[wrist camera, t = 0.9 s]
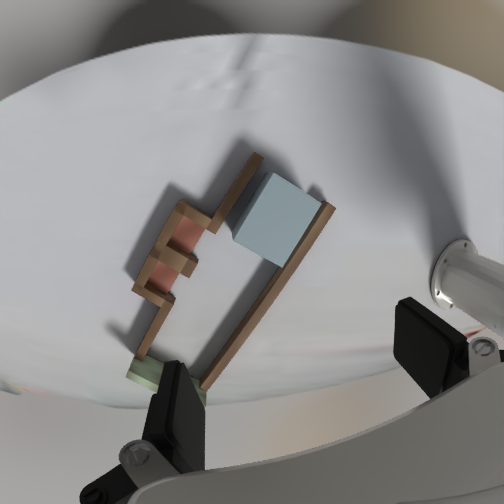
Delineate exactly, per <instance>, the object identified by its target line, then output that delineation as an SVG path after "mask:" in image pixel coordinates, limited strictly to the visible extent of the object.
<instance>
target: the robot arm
mask: <svg viewBox="0 0 504 504" xmlns="http://www.w3.org/2000/svg"><path fill="white" fill-rule="evenodd" d="M431 292H432V297H433V300H434V302H435V303H436V304H437V305H438V306H439V307H440V308H442V309H444V310H451V309H454V308H456V307H457V308H459V309H460V310H462V311H463V312H465V313H466V314H468V315H469V316H471V317H472V318H474V319H475V320H477V321H478V322H480V323H481V324H483V325H484V326H486V327H487V328H489V329H490V330H492V331H493V332H494V333H496V334H497V335H499V336H500V337H502V338H503V339H504V265H503V264H500V263H498V262H496V261H493V260H491V259H488V258H486V257H483V256H481V255H479V254H478V251H477V249H476V247H475V245H474V244H473V243H472V242H470V241H468V240H464V239H459V240H456V241H454V242H452V243H451V244H450V245H449V246H448V247H447V248H446V249H445V250H444V251H443V253H442V254H441V256H440V257H439V259H438V261H437V264H436V266H435V269H434V272H433V277H432V284H431ZM393 354H394V357H395V359H396V360H397V361H398V362H399V364H400V365H401V366H402V367H403V368H404V369H405V370H406V371H407V373H408V374H409V375H410V376H411V377H412V378H413V379H414V381H415V382H416V383H417V384H418V385H419V386H420V387H421V389H422V390H423V391H424V392H425V393H426V394H427V396H428V397H429V398H430V400H428V401H426V402H424V403H423V404H421V405H419V406H417V407H415V408H413V409H411V410H409V411H407V412H405V413H403V414H401V415H399V416H396V417H394V418H392V419H390V420H388V421H385V422H383V423H381V424H379V425H376V426H374V427H371V428H369V429H366V430H364V431H361V432H359V433H356V434H354V435H351V436H348V437H346V438H343V439H340V440H337V441H334V442H331V443H328V444H325V445H322V446H318V447H315V448H312V449H308V450H305V451H301V452H297V453H294V454H290V455H286V456H282V457H278V458H273V459H269V460H263V461H258V462H253V463H248V464H243V465H237V466H230V467H224V468H217V469H210V470H205V409H204V405H203V403H202V401H201V399H200V397H199V395H198V393H197V391H196V389H195V386H194V384H193V382H192V380H191V378H190V375H189V373H188V371H187V369H186V366H185V364H184V363H180V362H179V361H178V360H176V361H169V362H165V363H164V366H163V370H162V374H161V378H160V382H159V386H158V391H157V394H153V395H152V397H151V401H150V405H149V409H148V413H147V418H146V422H145V427H144V431H143V435H142V439H141V440H134V441H131V442H129V443H127V444H126V445H125V446H123V448H122V449H121V450H120V453H119V461H120V463H121V464H119V465H118V466H116V467H115V468H113V469H112V470H110V471H109V472H107V473H106V474H104V475H103V476H101V477H100V478H98V479H96V480H95V481H93V482H92V483H90V484H88V485H87V486H86V487H84V488H83V490H82V491H81V493H80V503H81V504H504V350H499V348H498V345H497V343H496V342H495V341H494V340H492V339H491V338H488V337H478V338H475V339H473V340H472V341H471V342H470V343H468V342H467V337H465V336H464V335H463V334H461V333H460V332H459V331H457V330H456V329H455V328H453V327H452V326H451V325H449V324H448V323H447V322H445V321H444V320H443V319H441V318H440V317H438V316H437V315H436V314H434V313H433V312H432V311H430V310H429V309H427V308H426V307H425V306H423V305H422V304H420V303H419V302H418V301H416V300H415V299H413V298H412V297H407V298H405V299H402V300H400V301H399V302H398V305H396V307H395V332H394V349H393Z"/></svg>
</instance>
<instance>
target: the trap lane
mask: <svg viewBox="0 0 504 504" xmlns="http://www.w3.org/2000/svg"><path fill="white" fill-rule="evenodd" d="M263 159H264V157H262V156H260V155H259V154H257V153H256V152H254V153H253V154H252V156H251V157H250V159H249V160H248V162H247V163H246V165H245V166H244V168H243V170H242V171H241V173H240V174H239V176H238V177H237V179H236V180H235V182H234V183H233V185H232V187H231V188H230V190H229V191H228V193H227V194H226V196H225V198H224V199H223V201H222V202H221V204H220V206H219V207H218V209H217V210H216V212H215V214H214V215H213V217H211V216H209V215H208V214H206V213H204V212H203V211H201V210H199V209H198V208H196V207H194V206H193V205H191V204H189V203H188V202H186V201H184V200H183V199H181V200H179V201H178V203H177V205H176V207H175V208H174V210H173V212H172V214H171V215H170V217H169V219H168V221H167V222H166V224H165V226H164V228H163V230H162V231H161V233H160V235H159V237H158V239H157V241H156V242H155V244H154V246H153V248H152V250H151V252H150V254H149V256H148V258H147V260H146V261H145V263H144V265H143V267H142V269H141V271H140V273H139V275H138V277H137V279H136V281H135V283H134V285H133V288H132V291H133V292H135V293H137V294H138V295H140V296H142V297H143V298H145V299H147V300H149V301H150V302H152V303H154V304H156V305H157V306H159V307H160V308H159V310H158V312H157V314H156V316H155V317H154V319H153V321H152V323H151V325H150V327H149V329H148V330H147V332H146V334H145V336H144V338H143V340H142V342H141V344H140V346H139V348H138V350H137V352H136V354H135V355H134V358H133V360H132V362H131V365H130V367H129V370H128V372H127V375H126V378H128V379H130V380H132V381H134V382H136V383H138V384H140V385H142V386H144V387H146V388H148V389H150V390H152V391H154V392H157V391H158V386H159V382H160V378H161V374H162V370H163V366H164V363H162V362H160V361H158V360H156V359H154V358H152V357H150V356H148V355H146V353H147V351H148V349H149V348H150V346H151V344H152V342H153V340H154V338H155V337H156V335H157V333H158V331H159V329H160V328H161V326H162V324H163V322H164V321H165V319H166V317H167V315H168V314H169V312H170V310H171V308H172V307H173V305H174V302H175V299H176V298H175V297H173V296H171V295H170V294H168V292H169V290H170V288H171V287H172V285H173V283H174V281H175V280H176V278H177V276H178V274H179V273H181V274H183V275H184V276H186V277H188V278H189V277H190V276H191V274H192V272H193V271H194V269H195V267H196V266H197V264H198V260H199V259H197V258H196V257H194V256H192V255H191V252H192V250H193V249H194V247H195V245H196V243H197V242H198V240H199V238H200V237H201V235H202V233H203V232H204V230H205V229H207V230H209V231H210V232H212V233H214V234H216V233H217V231H218V229H219V228H220V226H221V225H222V223H223V221H224V220H225V218H226V216H227V215H228V213H229V212H230V210H231V209H232V207H233V205H234V204H235V202H236V201H237V199H238V198H239V196H240V194H241V193H242V191H243V190H244V188H245V187H246V185H247V184H248V182H249V180H250V179H251V177H252V176H253V174H254V173H255V171H256V170H257V168H258V167H259V165H260V164H261V162H262V161H263ZM335 210H336V208H335V207H334V206H332V205H331V204H330V203H328V202H324V201H322V204H321V206H320V207H319V209H318V211H317V212H316V214H315V216H314V217H313V219H312V221H311V222H310V224H309V225H308V227H307V229H306V230H305V232H304V234H303V235H302V237H301V238H300V240H299V242H298V243H297V245H296V247H295V248H294V250H293V251H292V253H291V255H290V256H289V258H288V259H287V261H286V262H285V264H284V266H283V267H279V268H278V270H277V271H276V273H275V274H274V276H273V277H272V279H271V280H270V282H269V283H268V284H267V286H266V287H265V289H264V290H263V292H262V293H261V295H260V296H259V298H258V299H257V300H256V302H255V303H254V305H253V306H252V308H251V309H250V311H249V312H248V313H247V315H246V316H245V318H244V319H243V321H242V322H241V323H240V325H239V326H238V328H237V329H236V330H235V332H234V333H233V335H232V336H231V338H230V339H229V340H228V342H227V343H226V345H225V346H224V347H223V349H222V350H221V352H220V353H219V354H218V356H217V357H216V358H215V360H214V361H213V363H212V364H211V365H210V367H209V368H208V369H207V371H206V372H205V374H204V375H203V376H202V378H201V379H200V380H198V379H196V378H193V377H191V376H190V378H191V380H192V382H193V384H194V386H195V389H196V391H197V393H198V395H199V397H200V399H201V401H202V403H203V405H204V408H205V407H206V392H207V391H208V389H209V388H210V387H211V385H212V384H213V383H214V382H215V380H216V379H217V378H218V376H219V375H220V374H221V372H222V371H223V370H224V369H225V367H226V366H227V365H228V363H229V362H230V361H231V359H232V358H233V357H234V355H235V354H236V353H237V351H238V350H239V349H240V347H241V346H242V345H243V343H244V342H245V341H246V339H247V338H248V336H249V335H250V334H251V332H252V331H253V330H254V328H255V327H256V326H257V324H258V323H259V321H260V320H261V319H262V317H263V316H264V314H265V313H266V312H267V310H268V309H269V307H270V306H271V305H272V303H273V302H274V300H275V299H276V298H277V296H278V295H279V293H280V292H281V290H282V289H283V288H284V286H285V285H286V283H287V282H288V280H289V279H290V277H291V276H292V274H293V273H294V272H295V270H296V269H297V267H298V266H299V264H300V263H301V261H302V260H303V258H304V257H305V255H306V254H307V252H308V251H309V249H310V248H311V246H312V245H313V243H314V242H315V240H316V239H317V237H318V236H319V234H320V233H321V231H322V230H323V228H324V227H325V225H326V224H327V222H328V220H329V219H330V217H331V216H332V214H333V213H334V211H335Z"/></svg>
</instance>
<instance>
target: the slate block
mask: <svg viewBox="0 0 504 504" xmlns="http://www.w3.org/2000/svg"><path fill="white" fill-rule="evenodd" d="M321 204H322V203H320V202H319V201H317V200H316V199H314V198H313V197H311V196H310V195H308V194H307V193H305V192H304V191H302V190H301V189H299V188H298V187H296V186H294V185H293V184H291V183H290V182H288V181H287V180H285V179H283V178H282V177H280V176H279V175H277V174H275V173H266V174H265V176H264V178H263V179H262V181H261V183H260V184H259V186H258V188H257V189H256V191H255V193H254V194H253V196H252V198H251V199H250V201H249V203H248V204H247V206H246V208H245V209H244V211H243V213H242V214H241V216H240V218H239V219H238V221H237V223H236V225H235V226H234V228H233V230H232V231H231V232H232V237H233V241H235V242H237V243H239V244H240V245H242V246H244V247H246V248H248V249H249V250H251V251H253V252H255V253H256V254H258V255H260V256H262V257H264V258H265V259H267V260H269V261H271V262H273V263H274V264H276V265H278V266H280V267H283V266H284V264H285V262H286V261H287V259H288V258H289V256H290V255H291V253H292V251H293V250H294V248H295V247H296V245H297V243H298V242H299V240H300V238H301V237H302V235H303V234H304V232H305V230H306V229H307V227H308V225H309V224H310V222H311V221H312V219H313V217H314V216H315V214H316V212H317V211H318V209H319V207H320V206H321Z"/></svg>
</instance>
